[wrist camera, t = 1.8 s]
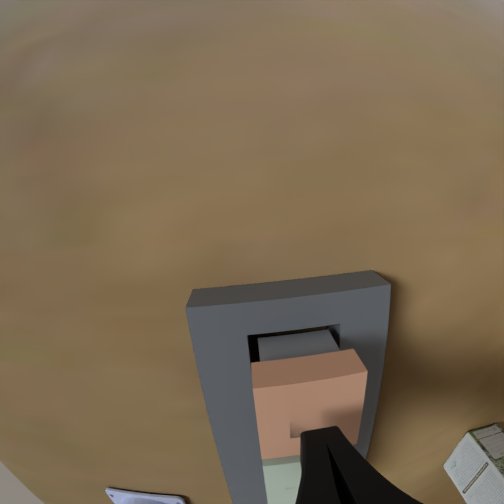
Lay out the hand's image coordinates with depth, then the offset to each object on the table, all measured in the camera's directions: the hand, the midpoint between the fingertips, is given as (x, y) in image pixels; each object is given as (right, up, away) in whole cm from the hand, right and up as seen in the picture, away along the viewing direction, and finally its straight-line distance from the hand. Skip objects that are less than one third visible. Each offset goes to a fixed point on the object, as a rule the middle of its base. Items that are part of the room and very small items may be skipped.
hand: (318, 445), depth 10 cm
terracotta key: (0, +1, +6) cm, 6 cm away
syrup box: (+21, -14, +12) cm, 28 cm away
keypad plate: (0, -3, +9) cm, 9 cm away
